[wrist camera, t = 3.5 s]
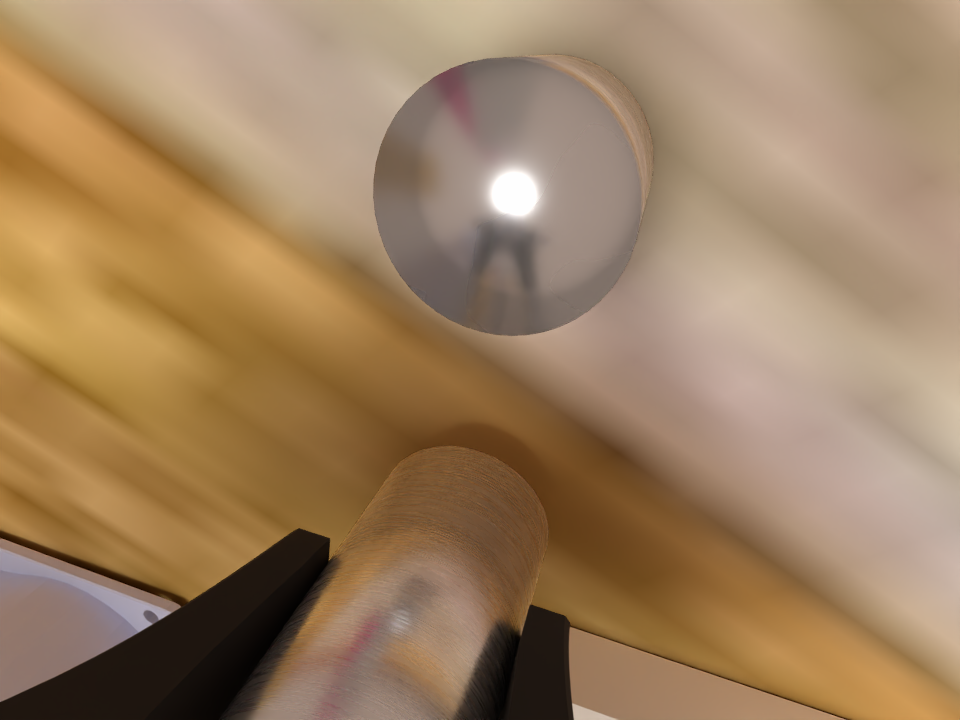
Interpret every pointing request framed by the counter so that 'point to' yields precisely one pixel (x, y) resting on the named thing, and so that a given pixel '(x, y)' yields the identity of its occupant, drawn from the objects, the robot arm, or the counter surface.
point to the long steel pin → (412, 602)
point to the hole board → (662, 688)
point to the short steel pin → (514, 190)
